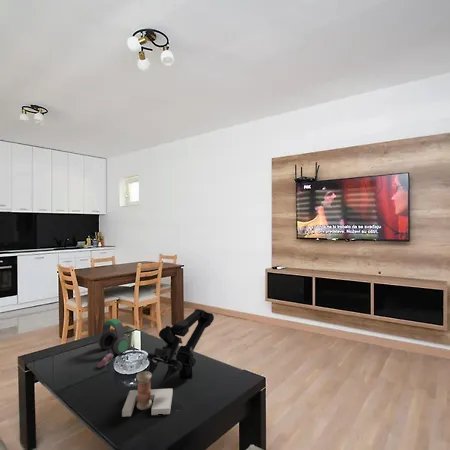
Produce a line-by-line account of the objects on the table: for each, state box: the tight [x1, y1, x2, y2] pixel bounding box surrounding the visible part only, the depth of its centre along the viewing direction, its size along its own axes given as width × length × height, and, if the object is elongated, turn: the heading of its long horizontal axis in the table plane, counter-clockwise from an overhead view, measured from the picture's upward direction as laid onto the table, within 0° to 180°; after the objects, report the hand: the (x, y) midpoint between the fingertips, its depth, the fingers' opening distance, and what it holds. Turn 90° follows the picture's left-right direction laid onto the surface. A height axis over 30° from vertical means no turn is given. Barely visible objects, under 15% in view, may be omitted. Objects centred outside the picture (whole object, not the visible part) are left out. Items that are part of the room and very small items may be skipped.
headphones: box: [97, 318, 130, 355], centre depth 202 cm, size 19×11×20 cm, turn 55°
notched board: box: [121, 388, 174, 418], centre depth 145 cm, size 20×16×2 cm
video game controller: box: [96, 353, 115, 369], centre depth 184 cm, size 10×5×7 cm, turn 170°
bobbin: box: [135, 370, 153, 411], centre depth 144 cm, size 7×7×14 cm
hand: (156, 379), depth 151 cm, fingers open, 9 cm apart
